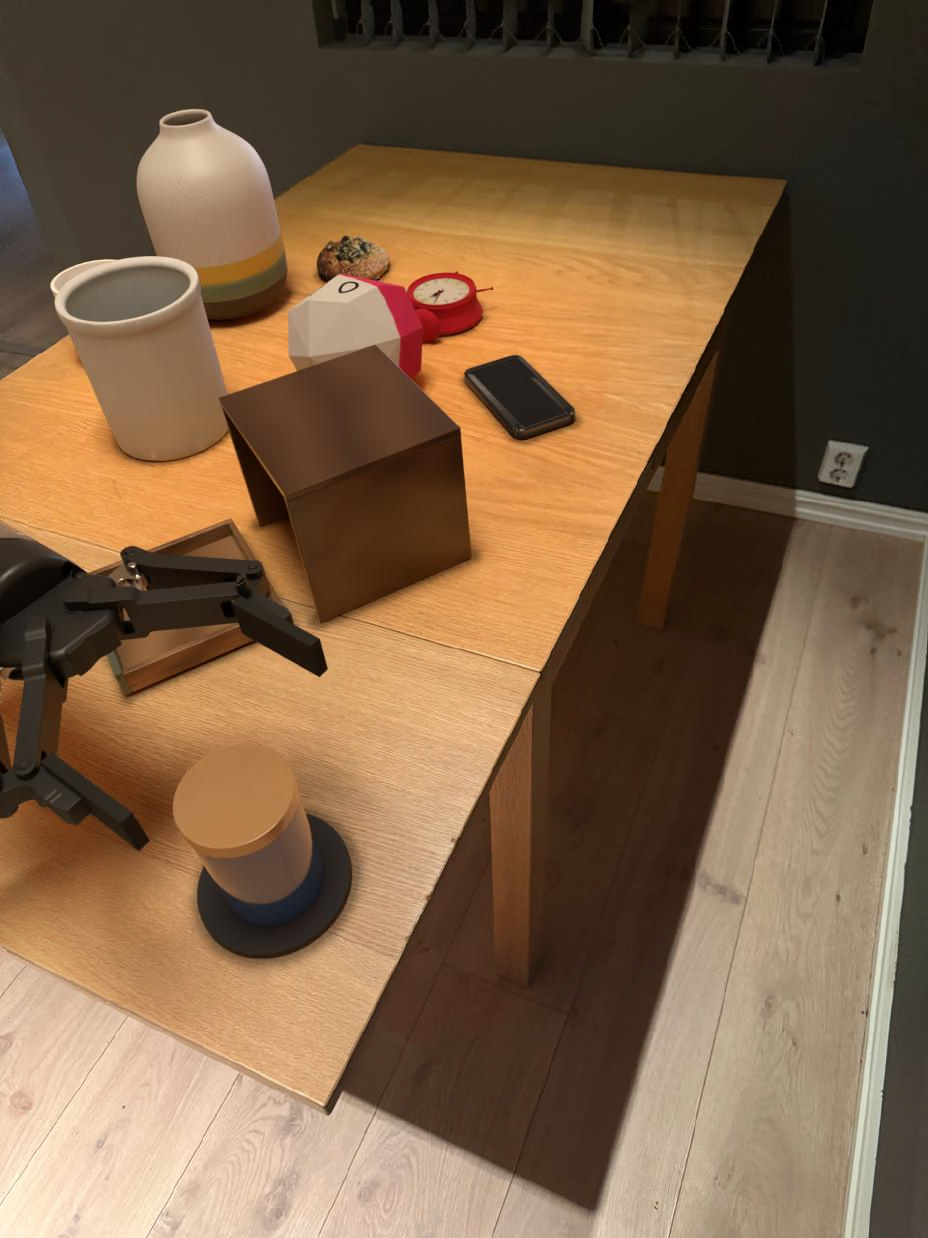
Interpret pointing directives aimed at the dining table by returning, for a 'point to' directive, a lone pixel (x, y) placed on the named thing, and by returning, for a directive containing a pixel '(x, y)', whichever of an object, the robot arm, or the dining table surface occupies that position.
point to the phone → (519, 396)
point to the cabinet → (354, 475)
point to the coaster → (291, 933)
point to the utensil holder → (148, 354)
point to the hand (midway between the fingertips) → (235, 739)
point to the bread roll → (352, 259)
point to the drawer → (186, 646)
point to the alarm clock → (445, 303)
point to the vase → (213, 213)
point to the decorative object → (355, 323)
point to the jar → (251, 832)
